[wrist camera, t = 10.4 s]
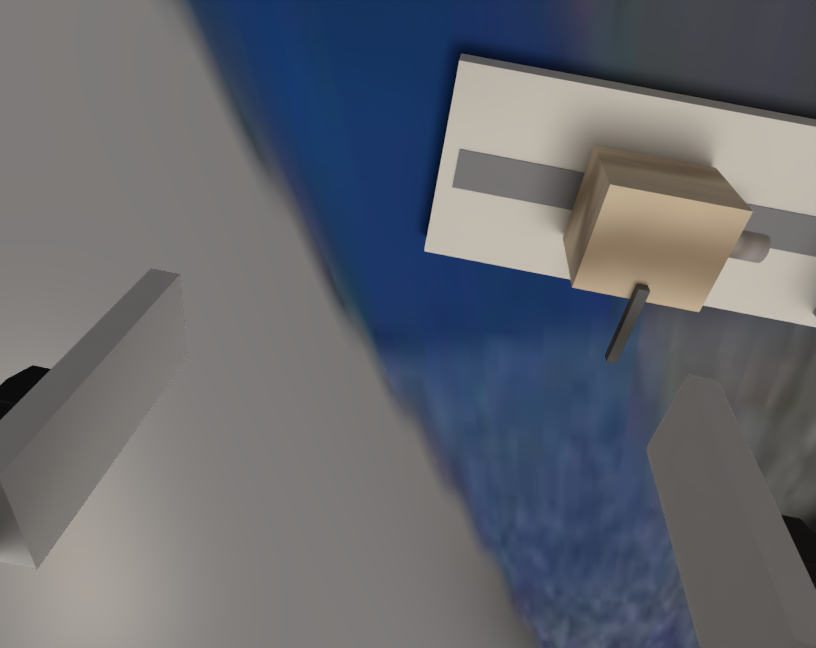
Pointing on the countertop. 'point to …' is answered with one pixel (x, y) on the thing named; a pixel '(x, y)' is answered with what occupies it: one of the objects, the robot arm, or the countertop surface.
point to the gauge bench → (630, 131)
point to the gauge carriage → (654, 233)
